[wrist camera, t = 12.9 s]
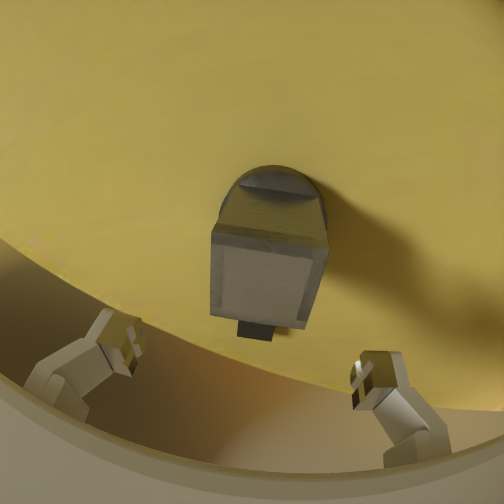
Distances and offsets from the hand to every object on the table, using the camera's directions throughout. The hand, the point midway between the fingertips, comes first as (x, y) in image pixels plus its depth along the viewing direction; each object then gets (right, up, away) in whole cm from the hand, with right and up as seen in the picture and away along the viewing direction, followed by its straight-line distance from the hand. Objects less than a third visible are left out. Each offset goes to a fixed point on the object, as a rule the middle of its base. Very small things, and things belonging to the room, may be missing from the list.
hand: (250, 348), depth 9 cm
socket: (+1, +5, +8) cm, 10 cm away
